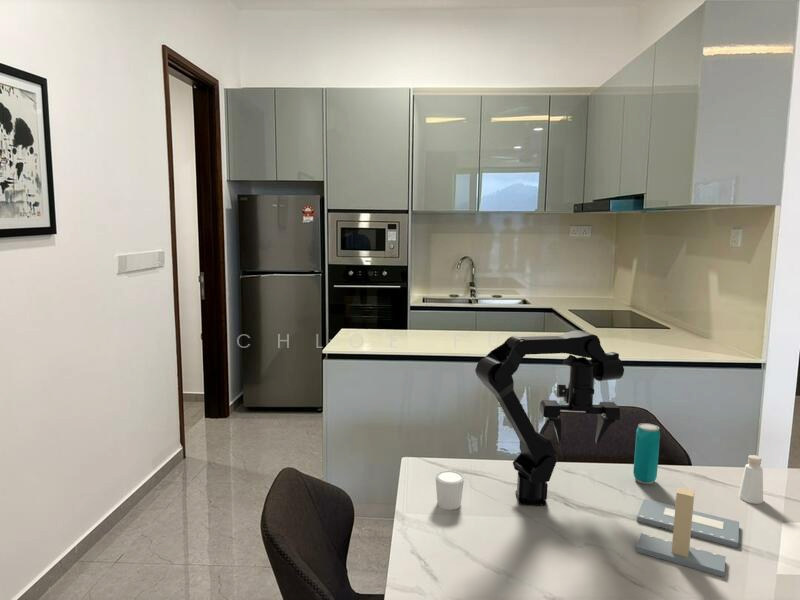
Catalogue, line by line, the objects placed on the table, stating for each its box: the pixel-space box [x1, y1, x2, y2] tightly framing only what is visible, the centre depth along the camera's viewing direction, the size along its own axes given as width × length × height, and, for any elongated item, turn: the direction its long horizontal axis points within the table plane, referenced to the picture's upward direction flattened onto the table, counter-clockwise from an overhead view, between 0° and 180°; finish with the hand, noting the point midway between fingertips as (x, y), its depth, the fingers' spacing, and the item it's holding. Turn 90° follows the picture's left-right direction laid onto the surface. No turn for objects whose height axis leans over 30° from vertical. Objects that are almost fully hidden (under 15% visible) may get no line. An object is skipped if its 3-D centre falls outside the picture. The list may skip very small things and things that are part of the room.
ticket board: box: [636, 498, 740, 549], centre depth 130 cm, size 20×10×1 cm, turn 59°
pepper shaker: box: [738, 454, 764, 505], centre depth 142 cm, size 5×5×11 cm
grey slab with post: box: [635, 486, 727, 578], centre depth 117 cm, size 16×6×14 cm, turn 59°
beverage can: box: [633, 422, 661, 485], centre depth 151 cm, size 6×6×15 cm
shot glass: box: [435, 470, 465, 511], centre depth 138 cm, size 7×7×7 cm
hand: (578, 442), depth 144 cm, fingers open, 9 cm apart
